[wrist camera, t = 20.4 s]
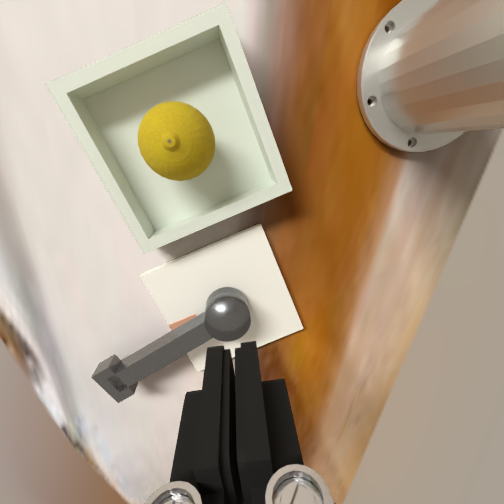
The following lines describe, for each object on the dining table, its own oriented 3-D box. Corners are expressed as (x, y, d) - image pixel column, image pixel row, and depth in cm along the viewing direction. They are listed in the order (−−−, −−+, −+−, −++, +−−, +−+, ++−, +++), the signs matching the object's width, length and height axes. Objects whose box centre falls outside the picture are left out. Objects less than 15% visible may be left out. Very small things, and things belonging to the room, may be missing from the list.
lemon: (202, 99, 25) (195, 78, 17) (224, 164, 27) (226, 170, 19) (140, 121, 25) (106, 108, 18) (166, 184, 27) (146, 198, 19)
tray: (225, 22, 24) (226, 2, 21) (284, 185, 29) (292, 190, 25) (68, 93, 24) (45, 84, 21) (152, 242, 29) (143, 253, 26)
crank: (233, 279, 30) (235, 292, 27) (255, 311, 31) (259, 326, 29) (99, 359, 31) (87, 379, 29) (126, 386, 33) (117, 408, 30)
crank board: (260, 223, 30) (261, 225, 29) (301, 324, 34) (303, 329, 33) (141, 273, 30) (139, 277, 29) (197, 367, 34) (197, 372, 34)
